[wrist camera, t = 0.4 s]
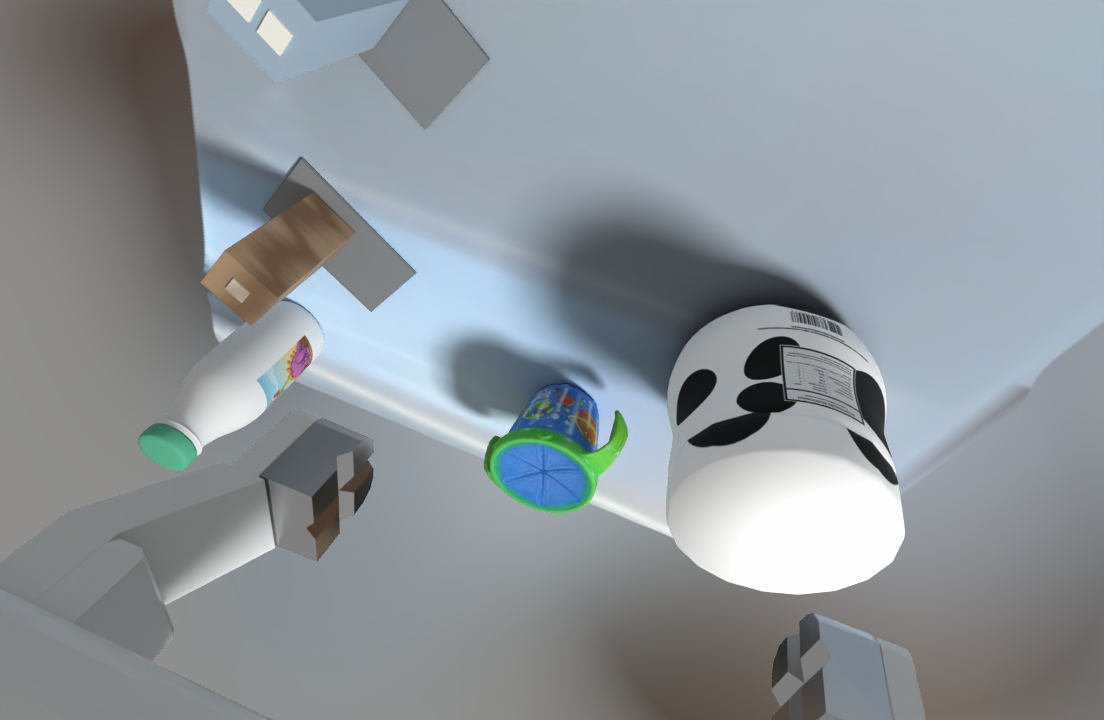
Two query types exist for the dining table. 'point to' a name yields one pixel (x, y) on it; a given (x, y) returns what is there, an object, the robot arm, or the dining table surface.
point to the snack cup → (554, 451)
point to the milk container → (781, 453)
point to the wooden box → (277, 258)
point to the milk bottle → (234, 384)
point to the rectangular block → (303, 30)
